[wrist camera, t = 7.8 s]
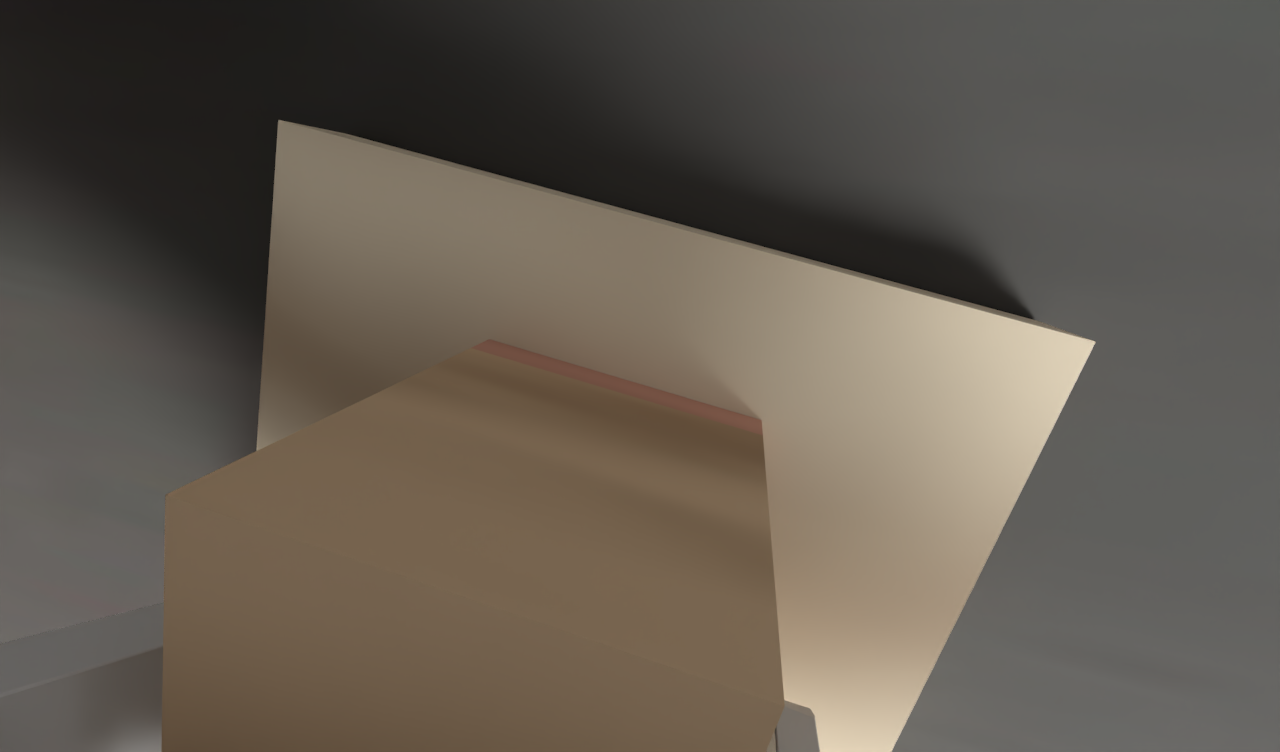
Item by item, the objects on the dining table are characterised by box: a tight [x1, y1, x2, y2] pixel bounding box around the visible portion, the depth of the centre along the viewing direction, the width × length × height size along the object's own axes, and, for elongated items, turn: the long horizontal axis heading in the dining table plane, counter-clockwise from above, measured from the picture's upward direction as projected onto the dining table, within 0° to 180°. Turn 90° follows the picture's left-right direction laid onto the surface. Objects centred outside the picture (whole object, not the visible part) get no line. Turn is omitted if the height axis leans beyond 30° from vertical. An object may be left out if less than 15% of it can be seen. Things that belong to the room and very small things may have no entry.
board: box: [256, 120, 1095, 752], centre depth 11 cm, size 20×11×2 cm, turn 166°
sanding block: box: [161, 339, 785, 752], centre depth 7 cm, size 7×4×5 cm, turn 166°
